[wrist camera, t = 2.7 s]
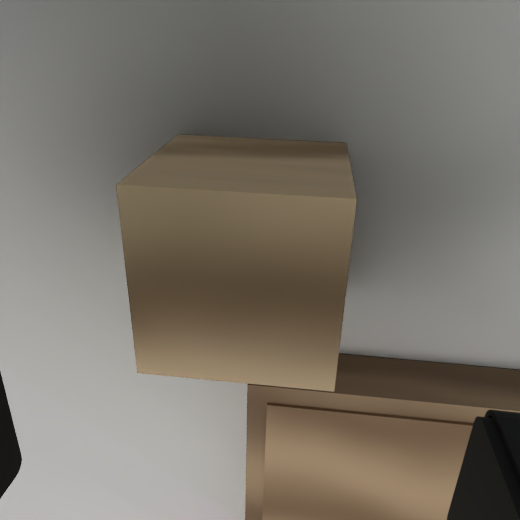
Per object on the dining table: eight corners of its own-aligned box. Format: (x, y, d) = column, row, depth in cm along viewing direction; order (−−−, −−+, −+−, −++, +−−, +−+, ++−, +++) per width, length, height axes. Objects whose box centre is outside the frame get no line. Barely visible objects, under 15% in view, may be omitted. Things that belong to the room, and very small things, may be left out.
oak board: (255, 346, 21) (247, 387, 19) (646, 381, 20) (690, 430, 17) (249, 569, 28) (243, 619, 26) (536, 607, 27) (557, 664, 25)
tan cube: (178, 134, 18) (116, 185, 12) (346, 142, 17) (356, 199, 12) (185, 279, 20) (137, 373, 15) (330, 290, 20) (334, 391, 14)
